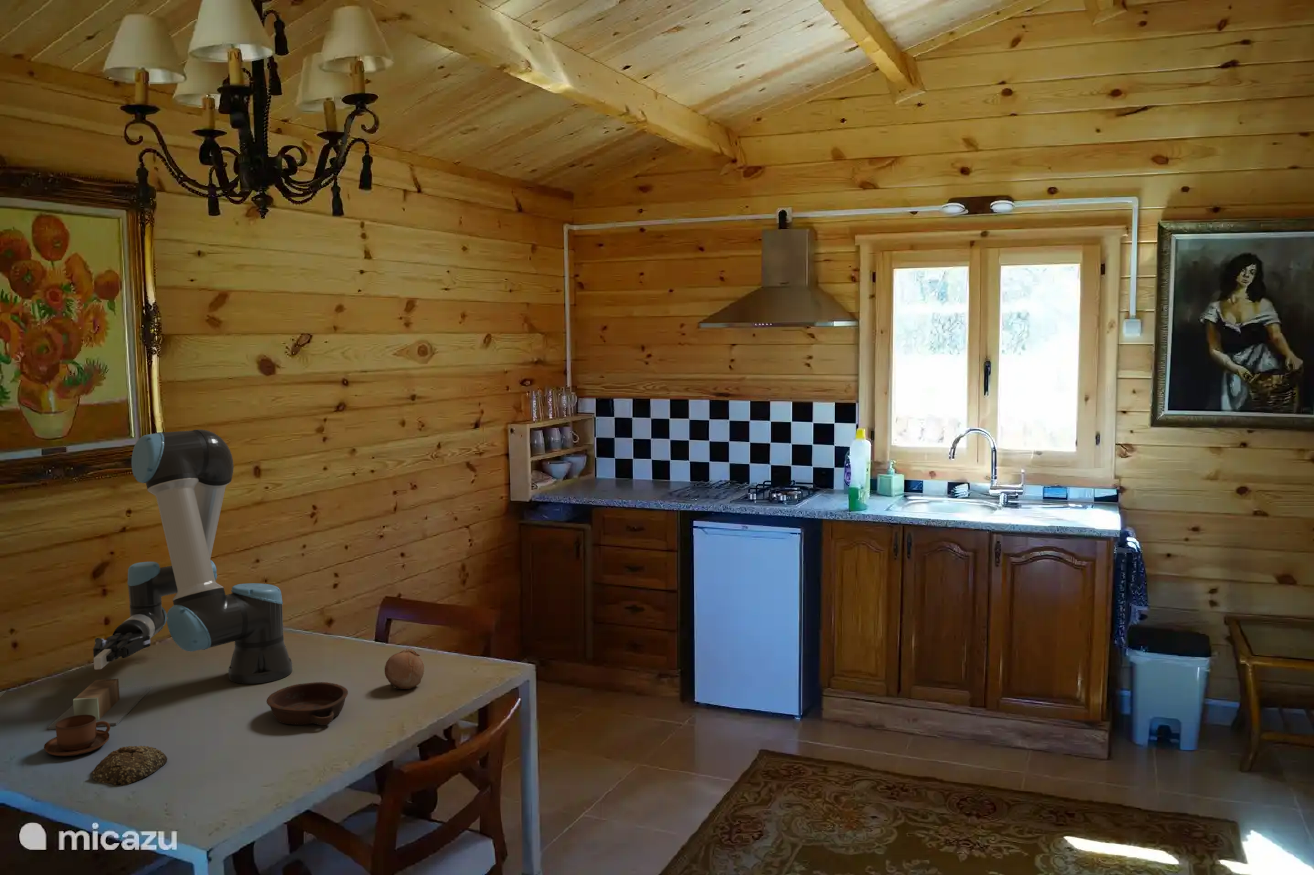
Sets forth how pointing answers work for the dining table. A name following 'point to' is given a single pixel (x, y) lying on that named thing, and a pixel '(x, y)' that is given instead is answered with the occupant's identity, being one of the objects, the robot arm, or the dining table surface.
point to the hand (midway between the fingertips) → (97, 663)
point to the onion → (404, 669)
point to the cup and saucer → (77, 736)
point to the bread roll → (129, 765)
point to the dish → (308, 703)
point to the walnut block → (97, 698)
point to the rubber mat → (115, 706)
